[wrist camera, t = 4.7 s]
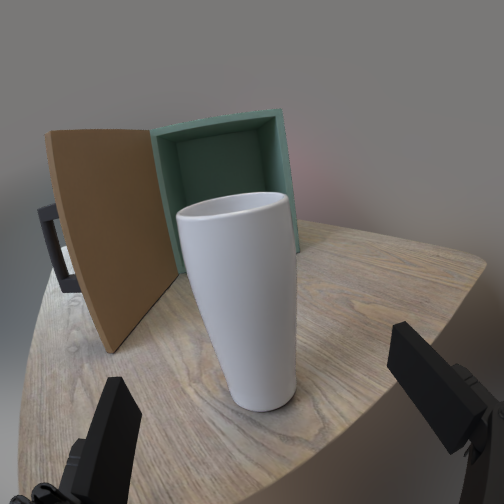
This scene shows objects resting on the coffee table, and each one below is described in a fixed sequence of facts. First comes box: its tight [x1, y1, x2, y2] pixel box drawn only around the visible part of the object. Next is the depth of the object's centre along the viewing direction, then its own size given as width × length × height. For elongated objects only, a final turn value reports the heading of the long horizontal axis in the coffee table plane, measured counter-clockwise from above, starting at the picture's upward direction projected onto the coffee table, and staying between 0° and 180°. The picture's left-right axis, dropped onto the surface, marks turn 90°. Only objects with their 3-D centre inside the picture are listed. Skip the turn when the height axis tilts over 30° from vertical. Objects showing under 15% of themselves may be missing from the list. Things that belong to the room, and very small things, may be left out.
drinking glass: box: [176, 192, 297, 412], centre depth 19 cm, size 7×7×15 cm
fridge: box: [150, 109, 300, 274], centre depth 57 cm, size 24×21×24 cm
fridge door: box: [37, 129, 179, 353], centre depth 35 cm, size 6×21×24 cm, turn 172°
